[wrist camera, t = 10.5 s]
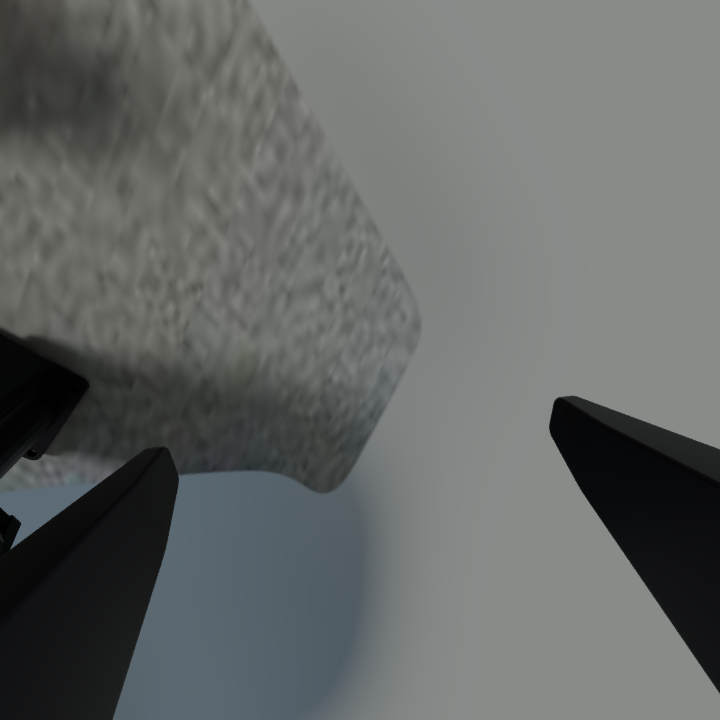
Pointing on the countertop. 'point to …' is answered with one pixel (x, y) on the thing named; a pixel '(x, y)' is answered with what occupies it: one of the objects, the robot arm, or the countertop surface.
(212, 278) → the countertop surface
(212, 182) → the countertop surface
